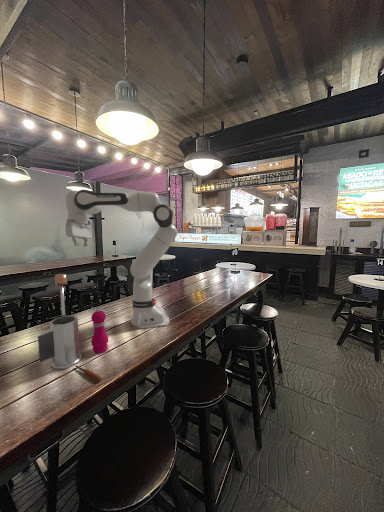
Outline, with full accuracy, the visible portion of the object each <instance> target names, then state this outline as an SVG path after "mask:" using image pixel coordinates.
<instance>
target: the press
mask: <svg viewBox="0 0 384 512" xmlns="http://www.w3.org/2000/svg"><path fill="white" fill-rule="evenodd" d="M65 318H66V324H62V316H60V317H56V318H54V319H52V320H51V321H50V322H49V331H48V332H47V333H43V334H41V335H38V336H37V343H38V355H39V362H40V363H43V362H45V361H47V360H49V359H52V360H51V362H50V365H51V367H50V368H51V369H52V370H58V371H59V370H66V369H70V368H72V367H74V366H76V365H77V364H79V363H80V362H81V360H82V354H81V353H80V352H81V350H80V334H79V319H78V317H76V316H75V315H65Z"/></svg>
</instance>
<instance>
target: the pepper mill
mask: <svg viewBox="0 0 384 512" xmlns="http://www.w3.org/2000/svg"><path fill="white" fill-rule="evenodd" d="M106 318H107V314H106V312H105V311H103V310H101V308H100V307H97V308H96V310H95V311H94V312H93V313H92V314H91V321H92V324H93V325H92V327H94V331H93V332H94V333H93V335H92V338H91V340H90V341H91V342H90V343H91V344H90V345H91V346H92V352H93V354H102V353H105V352H106V351H108V349H109V348H108V342H109V336H108V334H107V332H106V330H105V325H106V321H105V320H106Z"/></svg>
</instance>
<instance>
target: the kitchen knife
mask: <svg viewBox="0 0 384 512" xmlns="http://www.w3.org/2000/svg"><path fill="white" fill-rule="evenodd" d="M74 366H75V368H76V369H78V370H80V371H81V372H83V374H84V375H85V376H87V377H88V378H90V379H92V380H93V381H95V382H96V381H97V383H100V382H101V381H102V377H100V375H98V374H96V373H94V372H93V371H91V370H89V369H88V368H83V367H81V366H78V365H77V364H76V365H74Z"/></svg>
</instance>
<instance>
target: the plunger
mask: <svg viewBox="0 0 384 512" xmlns="http://www.w3.org/2000/svg"><path fill="white" fill-rule="evenodd" d="M54 280H55V286H56V287H59V290H60V291H59V292H60V293H59V294H60V308H61V317H62V324H66V318H65V316H66V305H65V293H64V292H65V291H64V286H67V285H68V275H67V273H58V274H55V275H54Z"/></svg>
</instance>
